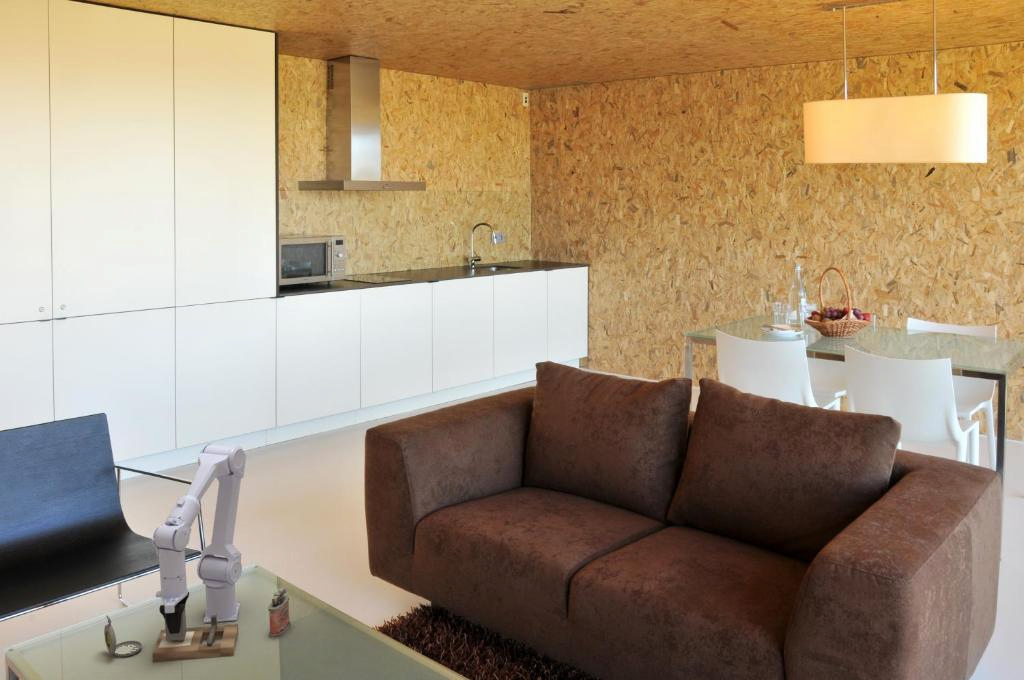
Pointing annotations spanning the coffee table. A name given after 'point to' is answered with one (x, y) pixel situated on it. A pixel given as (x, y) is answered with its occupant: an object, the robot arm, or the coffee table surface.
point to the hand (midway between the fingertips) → (176, 628)
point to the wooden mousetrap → (198, 643)
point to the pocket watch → (112, 646)
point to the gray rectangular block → (181, 633)
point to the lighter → (279, 614)
